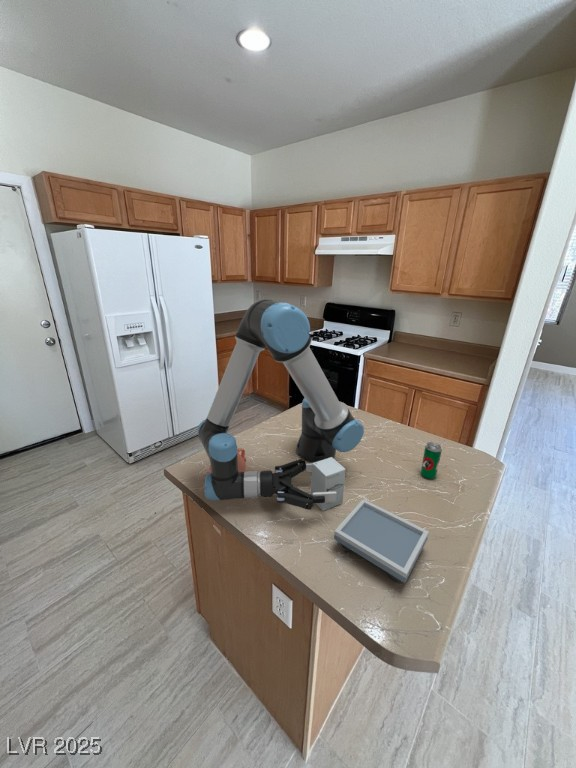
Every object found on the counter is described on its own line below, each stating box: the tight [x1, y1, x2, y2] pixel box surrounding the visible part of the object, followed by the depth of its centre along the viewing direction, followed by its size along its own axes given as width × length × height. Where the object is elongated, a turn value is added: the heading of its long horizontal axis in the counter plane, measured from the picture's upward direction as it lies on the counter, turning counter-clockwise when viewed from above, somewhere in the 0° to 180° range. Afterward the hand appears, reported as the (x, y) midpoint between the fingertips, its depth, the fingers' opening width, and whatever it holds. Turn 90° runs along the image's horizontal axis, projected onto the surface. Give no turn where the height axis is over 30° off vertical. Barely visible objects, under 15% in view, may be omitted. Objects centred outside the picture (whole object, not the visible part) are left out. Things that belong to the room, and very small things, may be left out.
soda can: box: [419, 441, 443, 480], centre depth 105 cm, size 5×5×12 cm
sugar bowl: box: [208, 447, 247, 474], centre depth 105 cm, size 12×14×10 cm
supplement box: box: [310, 457, 346, 512], centre depth 93 cm, size 7×7×13 cm
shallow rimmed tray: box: [333, 498, 430, 584], centre depth 78 cm, size 18×15×6 cm
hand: (330, 480), depth 93 cm, fingers open, 13 cm apart
